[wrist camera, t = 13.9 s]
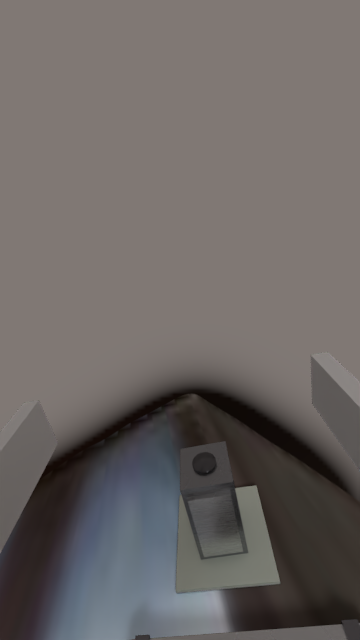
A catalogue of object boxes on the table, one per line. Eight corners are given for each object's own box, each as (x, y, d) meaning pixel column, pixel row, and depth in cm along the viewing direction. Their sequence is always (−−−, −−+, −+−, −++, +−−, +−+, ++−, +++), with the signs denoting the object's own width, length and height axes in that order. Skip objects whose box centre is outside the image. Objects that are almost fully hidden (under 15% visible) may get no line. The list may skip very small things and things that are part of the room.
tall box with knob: (201, 564, 29) (179, 491, 25) (197, 509, 34) (179, 444, 31) (249, 557, 28) (233, 483, 25) (238, 503, 34) (224, 436, 31)
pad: (176, 593, 27) (175, 590, 27) (180, 497, 37) (179, 495, 37) (280, 583, 26) (279, 581, 26) (256, 487, 36) (256, 485, 35)
